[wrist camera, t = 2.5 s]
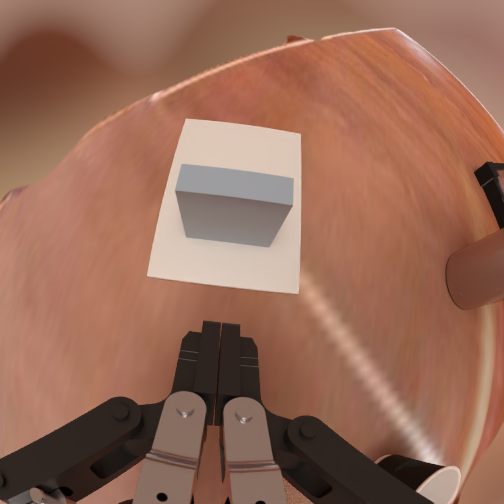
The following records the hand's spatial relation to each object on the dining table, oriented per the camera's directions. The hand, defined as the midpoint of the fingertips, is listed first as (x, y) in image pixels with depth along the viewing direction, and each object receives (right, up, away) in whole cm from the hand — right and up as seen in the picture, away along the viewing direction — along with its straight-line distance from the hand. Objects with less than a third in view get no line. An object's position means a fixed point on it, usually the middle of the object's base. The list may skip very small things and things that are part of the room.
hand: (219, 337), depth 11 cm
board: (-1, +10, +21) cm, 24 cm away
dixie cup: (+18, -24, +13) cm, 33 cm away
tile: (-1, +6, +19) cm, 20 cm away
